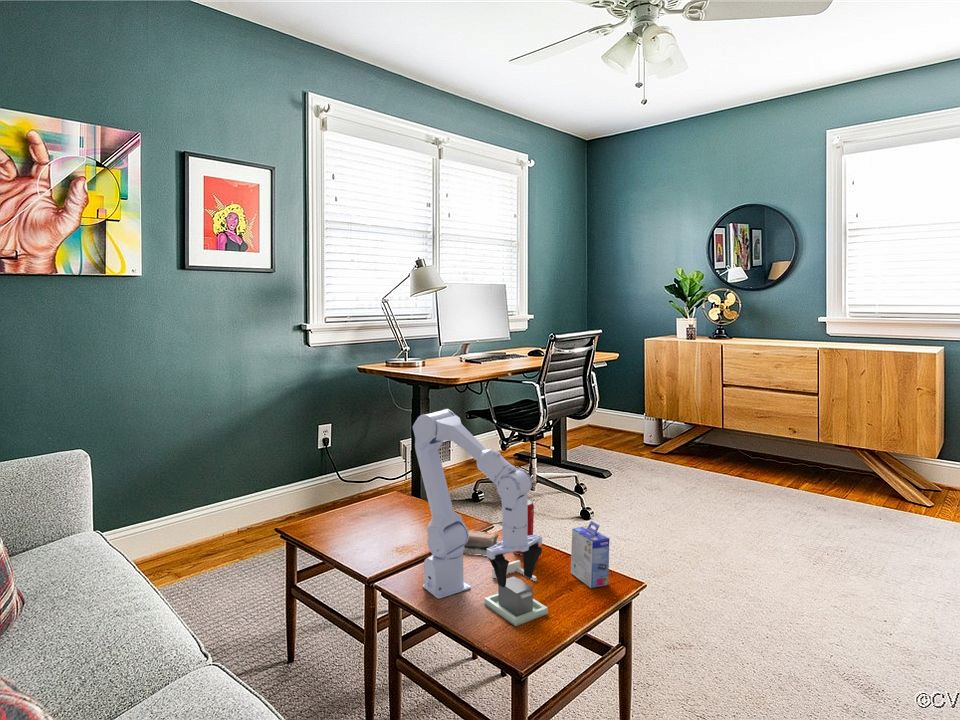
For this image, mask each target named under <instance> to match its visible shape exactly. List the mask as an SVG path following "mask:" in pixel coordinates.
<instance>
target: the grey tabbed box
mask: <svg viewBox="0 0 960 720" xmlns="http://www.w3.org/2000/svg"><path fill="white" fill-rule="evenodd" d="M497 585H498V584H497ZM533 589H534V587H532V586H531V585H529V584H527V583H525V582H524V581H523V580H521V579H519V578H518V577H516V576H512V577H511V576H510V577H508V578H507V577H506V587H501V586H500V585H498V592H497V593H498V597H499V605H501V606H502V607H503V608H505V609H506V610H508V611H509V612H511V613H512V614H513V615H515V616H516V617H518V616H520V615H523V614H526V613H528V612H531V611H533V599H534V598H533V597H534V594H533V592H534V591H533Z"/></svg>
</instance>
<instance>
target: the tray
mask: <svg viewBox="0 0 960 720" xmlns="http://www.w3.org/2000/svg"><path fill="white" fill-rule="evenodd" d="M484 605H485V606H486V607H487V608H489V609H490V610H492V611H493V612H494V613H496V614H497V615H499V616H500V617H502V618H503V619H504V620H506V621H507V623H510V624H511V625H513V626H514V627H518V626H520V625H523V624H526V623H528V622H531V621H533V620H535V619H539V618H541V617H543V616H547V615H548V613H549V612H548V611H549V608H548V606H546V605H544V604H542V602H540V601H538V600H536V599H534V598H533V611H531V612H528V613H526V614H523V615H520V616H518V617H516V616H515V615H513V614H512V613H511V612H509V611H508V610H506V609H505V608H503V607H502V606H501V605H499V597H498V592H497V593H495V594H492V595H488V596H486V597H484Z"/></svg>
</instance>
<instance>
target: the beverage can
mask: <svg viewBox="0 0 960 720" xmlns="http://www.w3.org/2000/svg"><path fill="white" fill-rule="evenodd" d="M534 512H535V504H534V501H533V500H532V499H529V498H528V529H527V536H530V535H534V514H535V513H534ZM513 553H514V554H516V555H518V554H520V555H519V556H523V554H522V552H521V551H514V552H513Z"/></svg>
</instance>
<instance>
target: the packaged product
mask: <svg viewBox="0 0 960 720" xmlns="http://www.w3.org/2000/svg"><path fill="white" fill-rule="evenodd" d="M468 532H469V539H468V542H467V543H466V544H465V545H464V550H463V553H471V554H481V555H487V548H490V547H492V546H494V545H496V544H497V543H499V542H501V541H502V540H498V538H499V534H497V533H492V532H484V531H479V530H472V529H471V530H470V529H468Z"/></svg>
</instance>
